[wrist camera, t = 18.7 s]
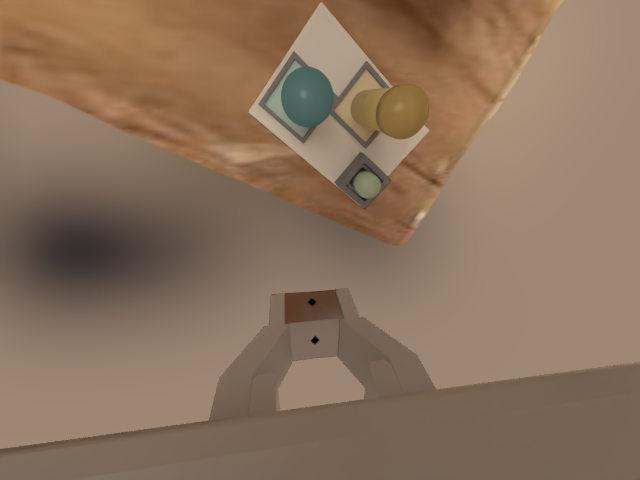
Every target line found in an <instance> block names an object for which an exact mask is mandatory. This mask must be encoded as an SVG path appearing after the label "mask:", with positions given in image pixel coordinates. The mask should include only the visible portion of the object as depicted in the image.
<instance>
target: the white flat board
mask: <svg viewBox="0 0 640 480" xmlns="http://www.w3.org/2000/svg"><path fill="white" fill-rule="evenodd" d="M300 67H313V68H316V69H318V70H319V71H321V72H322V73H323V74H324V75H325V76H326V77H327V78H328V80H329V81H330V83H331V86H332V89H333V95H334V100H333V107H332V110H331V112H330V114H329V116H328V117H327V118H326V120H324V121H323V122H322V123H321V124H319V125H317V126H314V127H302V126H299V125H297V124H295V123H294V122H292V121H291V120H290V119H289V118H288V116H287V115H286V113H285V111H284V109H283V106H282V102H281V90H282V86H283V83H284V81H285V79H286V78H287V76H288V75H289V74H290V73H291V72H293V71H294V70H296V69H298V68H300ZM390 87H392V85H391V84H390V83H389V82H388V81H387V80H386V78H385V77H384V76H383V75H382V74H381V72H380V71H379V70H378V69H377V68H376V66H375V65H374V64H373V63H372V62H371V60H370V59H369V58H368V57H367V56H366V54H365V53H364V52H363V51H362V50H361V48H360V47H359V46H358V45H357V44H356V42H355V41H354V40H353V39H352V38H351V36H350V35H349V34H348V33H347V32H346V30H345V29H344V28H343V27H342V26H341V25H340V23H339V22H338V21H337V20H336V19H335V17H334V16H333V15H332V14H331V13H330V11H329V10H328V9H327V8H326V7H325V5H324V4H323V3H322V2H321V3H320V4H319V6H318V7H317V9H316V10H315V12H314V13H313V15H312V16H311V18H310V19H309V21H308V22H307V24H306V25H305V27H304V28H303V30H302V31H301V33H300V34H299V36H298V37H297V39H296V40H295V42H294V43H293V45H292V46H291V48H290V49H289V51H288V52H287V54H286V56H285V57H284V59H283V60H282V62H281V63H280V65H279V66H278V68H277V69H276V71H275V72H274V74H273V75H272V77H271V78H270V80H269V81H268V83H267V84H266V86H265V87H264V89H263V90H262V92H261V93H260V95H259V96H258V98H257V99H256V101H255V102H254V104H253V105H252V107H251V108H250V110H249V111H248V112H249V113H250V114H251V115H252V116H253V117H255V118H256V119H257V120H258V121H259V122H261V123H262V124H263V125H264V126H265V127H266V128H268V129H269V130H270V131H271V132H272V133H274V134H275V135H276V136H277V137H278V138H280V139H281V140H282V141H283V142H284V143H285V144H287V145H288V146H289V147H290V148H291V149H293V150H294V151H295V152H296V153H297V154H299V155H300V156H301V157H302V158H303V159H304V160H306V161H307V162H308V163H309V164H310V165H312V166H313V167H314V168H315V169H316V170H318V171H319V172H320V173H321V174H322V175H323V176H325V177H326V178H327V179H328V180H329V181H331V182H332V183H333V184H334V185H335V186H337V187H338V188H339V189H340V190H341V191H342V192H344V193H345V194H346V195H347V196H348V197H350V198H351V199H352V200H353V201H354V202H356V203H357V204H358V205H359V206H362V207H363V208H364V209H366V207H367V206H368V205H369V204H370V203H371V202H372V201H373V200H374V199H375V198H376V197H377V196H378V194H379V193H380V192H381V191H382V190H383V189H384V188H385V187H386V186H387V185H388V184H389V183H390V181H391V179H390V178H389V177H388V176H389V174H390V173H391V172H392V171H393V170H394V169H395V168H396V167H397V166H398V165H399V163H400V162H401V161H402V160H403V159H404V158H405V157H406V156H407V155H408V154H409V153H410V151H411V150H412V149H413V148H414V147H415V146H416V145H417V144H418V143H419V142H420V140H421V139H422V138H423V137H424V136H425V135H426V134H427V133H428V132H429V130H428V129H427V127H426V126H425V125H424V126H423V127H422V128H421V130H420V131H419V132H418V133H416V134H415V135H414V136H412V137H410V138H407V139H401V140H400V139H394V138H392V137H389V136H387V135H385V134H384V133H382V132H379V131H377V130H374V129H371V128H369V127H366V126H363V125H361V124H358V123H357V122H356V121H355V120H354V119H353V117H352V115H351V103H352V100H353V98H354V97H355V96H356V95H357V94H358V93H359V92H361V91H363V90H369V89H380V88H390ZM361 168H363V169H366V170H368V171H369V172H371V173H372V174H374V175H375V176H377V177H378V178H379V179H380V182H381V189H380V191H379V193H378V194H377V195H376V196H375V197H373V198H370V199H366V198H363V197H361V196H360V195H359V194H358V193H357V192H356V191H355V190H354V188H353V187H352V186H351V184H350V180H351V179H352V178H353V177H354V176H355V174H356V173H357V172H358V171H359V170H360V169H361Z"/></svg>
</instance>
